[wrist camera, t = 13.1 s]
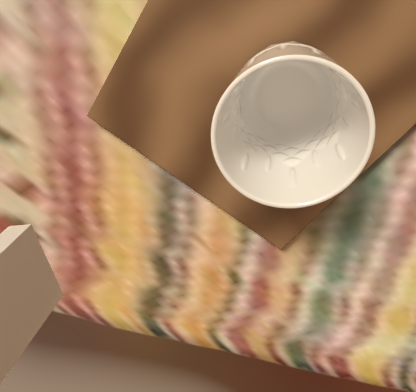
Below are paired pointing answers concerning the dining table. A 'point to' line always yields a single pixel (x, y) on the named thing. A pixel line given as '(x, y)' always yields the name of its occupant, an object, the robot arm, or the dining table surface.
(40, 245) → the robot arm
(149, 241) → the dining table surface
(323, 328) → the dining table surface
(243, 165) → the white cup
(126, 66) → the walnut board
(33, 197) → the dining table surface
